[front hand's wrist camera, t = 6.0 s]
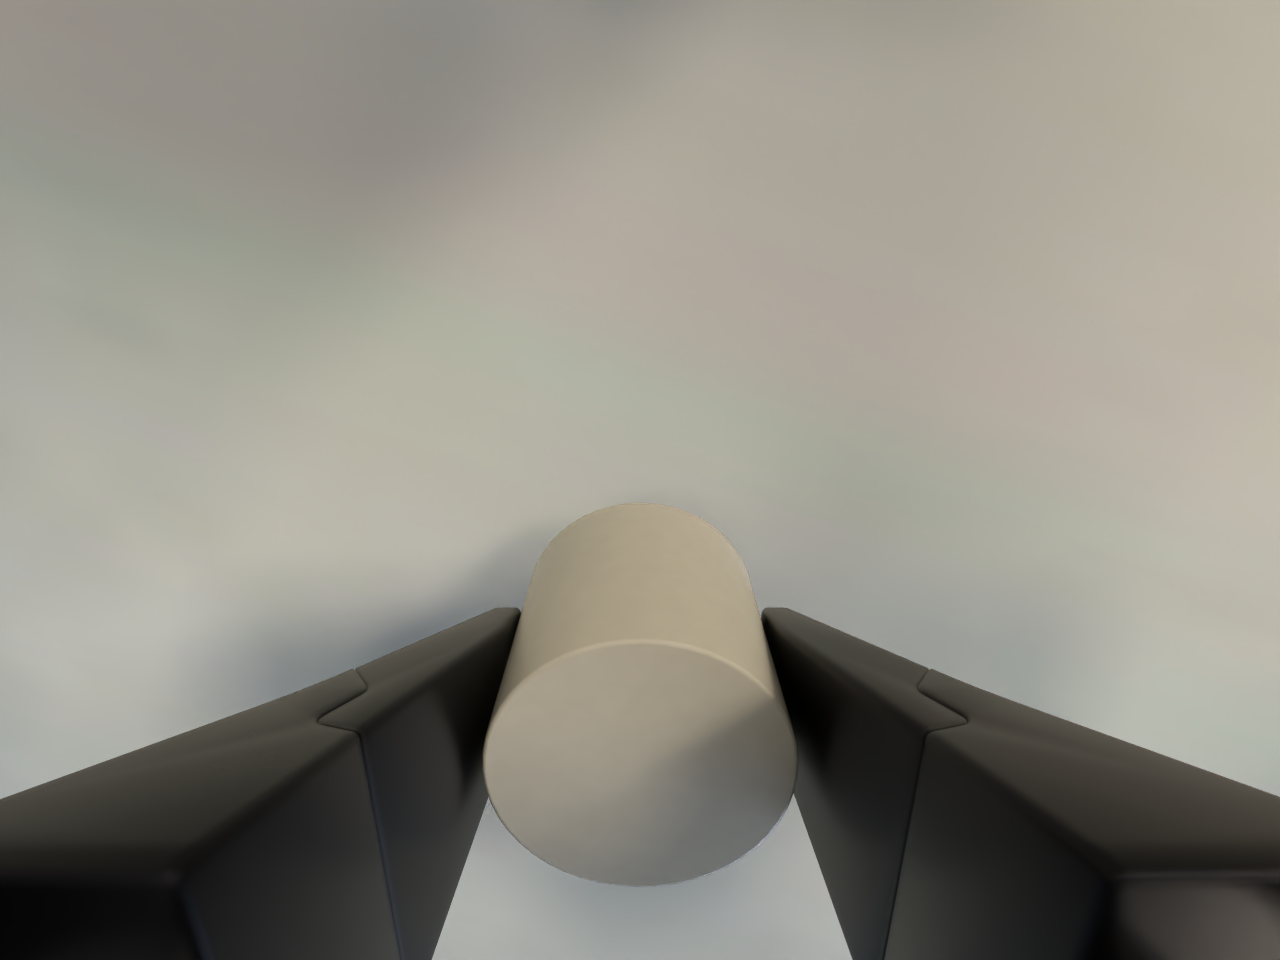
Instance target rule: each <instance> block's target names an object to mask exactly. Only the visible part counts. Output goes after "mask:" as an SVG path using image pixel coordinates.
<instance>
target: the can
mask: <svg viewBox="0 0 1280 960" xmlns="http://www.w3.org/2000/svg"><path fill="white" fill-rule="evenodd" d="M798 762H799V757H798V748H797V741H796V737H795V734H794V731H793V727H792V724H791V720H790V717H789V713H788V710H787V707H786V703H785V700H784V696H783V693H782V690H781V686H780V683H779V679H778V676H777V673H776V669H775V666H774V662H773V659H772V656H771V652H770V649H769V645H768V642H767V639H766V635H765V632H764V628H763V625H762V621H761V618H760V615H759V611H758V608H757V604H756V601H755V598H754V594H753V591H752V587H751V584H750V581H749V577H748V574H747V570H746V568H745V566H744V564H743V562H742V559H741V557H740V556H739V554H738V553H737V551H736V550H735V548H734V547H733V545H732V544H731V543H730V542H729V541H728V540H727V539H726V537H725V536H724V535H722V534H721V533H720V532H719V531H718V530H717V529H716V528H714V527H713V526H712V525H710V524H709V523H707V522H706V521H704V520H702V519H701V518H699V517H697V516H695V515H693V514H691V513H688V512H686V511H683V510H680V509H677V508H674V507H669V506H665V505H660V504H650V503H629V504H622V505H616V506H611V507H607V508H604V509H600V510H597V511H595V512H593V513H590V514H588V515H586V516H583V517H582V518H580V519H578V520H577V521H575V522H573V523H572V524H570V525H569V526H568V527H566V528H565V529H564V530H563V531H561V532H560V533H559V534H558V535H557V536H556V537H555V538H554V539H553V540H552V541H551V542H550V544H549V545H548V546H547V548H546V549H545V550H544V552H543V553H542V555H541V557H540V559H539V561H538V562H537V564H536V567H535V570H534V572H533V575H532V578H531V582H530V585H529V588H528V592H527V595H526V599H525V602H524V606H523V609H522V612H521V616H520V619H519V623H518V626H517V630H516V633H515V636H514V640H513V643H512V647H511V650H510V654H509V657H508V660H507V664H506V667H505V671H504V674H503V678H502V681H501V685H500V688H499V691H498V695H497V698H496V702H495V705H494V709H493V712H492V715H491V719H490V722H489V726H488V729H487V733H486V736H485V742H484V747H483V761H482V769H483V775H484V782H485V786H486V789H487V793H488V796H489V799H490V802H491V804H492V806H493V808H494V810H495V812H496V814H497V815H498V817H499V819H500V820H501V821H502V823H503V824H504V826H505V827H506V828H507V830H508V831H509V832H510V833H511V834H512V835H513V836H514V837H515V838H516V840H517V841H518V842H519V843H520V844H522V845H523V846H524V847H525V848H527V849H528V850H529V851H530V852H531V853H533V854H534V855H536V856H537V857H539V858H540V859H542V860H543V861H545V862H546V863H548V864H550V865H552V866H554V867H556V868H558V869H560V870H562V871H564V872H567V873H570V874H572V875H575V876H578V877H580V878H584V879H588V880H591V881H595V882H599V883H605V884H611V885H618V886H632V887H646V886H662V885H670V884H676V883H681V882H685V881H690V880H694V879H697V878H700V877H703V876H706V875H709V874H712V873H714V872H716V871H718V870H720V869H723V868H725V867H727V866H729V865H731V864H732V863H734V862H736V861H737V860H739V859H741V858H742V857H744V856H745V855H746V854H748V853H749V852H750V851H752V850H753V849H754V848H756V847H757V846H758V845H759V844H760V843H761V842H762V841H763V840H764V839H765V838H766V837H767V836H768V835H769V834H770V833H771V832H772V830H773V829H774V828H775V827H776V825H777V824H778V823H779V822H780V820H781V818H782V816H783V815H784V813H785V811H786V810H787V808H788V806H789V803H790V800H791V798H792V795H793V793H794V789H795V785H796V780H797V776H798Z"/></svg>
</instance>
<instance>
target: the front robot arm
mask: <svg viewBox="0 0 1280 960" xmlns="http://www.w3.org/2000/svg"><path fill="white" fill-rule="evenodd" d="M520 616H521V611H520V610H519V609H518V608H495V609H492V610H490V611H488V612H485V613H483V614H481V615H478V616H476V617H474V618H471V619H469V620H467V621H465V622H462V623H460V624H458V625H455V626H453V627H451V628H448V629H446V630H444V631H441V632H439V633H437V634H434V635H432V636H430V637H427V638H425V639H423V640H420V641H418V642H416V643H413V644H411V645H409V646H406V647H404V648H402V649H400V650H397V651H395V652H393V653H390V654H388V655H386V656H383V657H381V658H379V659H376V660H374V661H372V662H369V663H367V664H365V665H362V666H360V667H358V668H356V669H355V670H354V669H351V670H349V671H346V672H344V673H342V674H339V675H337V676H335V677H332V678H330V679H327V680H325V681H322V682H320V683H317V684H315V685H313V686H310V687H308V688H305V689H303V690H300V691H297V692H295V693H292V694H289V695H287V696H284V697H281V698H279V699H276V700H273V701H271V702H268V703H265V704H262V705H260V706H257V707H254V708H251V709H249V710H246V711H243V712H240V713H237V714H235V715H232V716H229V717H226V718H224V719H221V720H218V721H215V722H213V723H210V724H207V725H204V726H202V727H199V728H196V729H193V730H191V731H188V732H185V733H182V734H179V735H177V736H174V737H171V738H168V739H166V740H163V741H160V742H157V743H155V744H152V745H149V746H146V747H144V748H141V749H138V750H135V751H132V752H130V753H127V754H124V755H121V756H119V757H116V758H113V759H110V760H108V761H105V762H102V763H99V764H97V765H94V766H91V767H88V768H85V769H83V770H80V771H77V772H74V773H72V774H69V775H66V776H63V777H61V778H58V779H55V780H52V781H50V782H47V783H44V784H41V785H38V786H36V787H33V788H30V789H27V790H25V791H22V792H19V793H16V794H14V795H11V796H8V797H5V798H3V799H0V960H431V959H432V957H433V954H434V951H435V948H436V945H437V942H438V939H439V937H440V934H441V931H442V928H443V925H444V922H445V919H446V917H447V914H448V911H449V908H450V905H451V902H452V899H453V897H454V894H455V891H456V888H457V885H458V882H459V879H460V876H461V874H462V871H463V868H464V865H465V862H466V859H467V856H468V854H469V851H470V848H471V845H472V842H473V839H474V836H475V834H476V831H477V828H478V825H479V822H480V819H481V816H482V813H483V811H484V808H485V805H486V802H487V799H488V793H487V789H486V786H485V782H484V775H483V769H482V761H483V747H484V742H485V736H486V733H487V729H488V726H489V722H490V719H491V715H492V712H493V709H494V705H495V702H496V698H497V695H498V691H499V688H500V685H501V681H502V678H503V674H504V671H505V667H506V664H507V660H508V657H509V654H510V650H511V647H512V643H513V640H514V636H515V633H516V630H517V626H518V623H519V619H520ZM761 621H762V625H763V628H764V632H765V635H766V639H767V642H768V645H769V649H770V652H771V656H772V659H773V662H774V666H775V669H776V673H777V676H778V679H779V683H780V686H781V690H782V693H783V696H784V700H785V703H786V707H787V710H788V713H789V717H790V720H791V724H792V727H793V731H794V734H795V737H796V741H797V748H798V757H799V762H798V776H797V780H796V785H795V789H794V795H795V798H796V801H797V804H798V807H799V809H800V812H801V815H802V818H803V821H804V824H805V826H806V829H807V832H808V835H809V838H810V840H811V843H812V846H813V849H814V852H815V855H816V857H817V860H818V863H819V866H820V869H821V872H822V874H823V877H824V880H825V883H826V886H827V889H828V891H829V894H830V897H831V900H832V903H833V905H834V908H835V911H836V914H837V917H838V920H839V922H840V925H841V928H842V931H843V934H844V937H845V939H846V942H847V945H848V948H849V951H850V954H851V956H852V959H853V960H1280V797H1279V796H1276V795H1273V794H1270V793H1267V792H1265V791H1262V790H1259V789H1256V788H1253V787H1251V786H1248V785H1245V784H1242V783H1240V782H1237V781H1234V780H1231V779H1228V778H1226V777H1223V776H1220V775H1217V774H1215V773H1212V772H1209V771H1206V770H1203V769H1201V768H1198V767H1195V766H1192V765H1189V764H1187V763H1184V762H1181V761H1178V760H1176V759H1173V758H1170V757H1167V756H1164V755H1162V754H1159V753H1156V752H1153V751H1150V750H1148V749H1145V748H1142V747H1139V746H1137V745H1134V744H1131V743H1128V742H1125V741H1123V740H1120V739H1117V738H1114V737H1112V736H1109V735H1106V734H1103V733H1100V732H1098V731H1095V730H1092V729H1089V728H1086V727H1084V726H1081V725H1078V724H1075V723H1073V722H1070V721H1067V720H1064V719H1061V718H1059V717H1056V716H1053V715H1050V714H1047V713H1045V712H1042V711H1039V710H1036V709H1034V708H1031V707H1028V706H1025V705H1022V704H1020V703H1017V702H1014V701H1011V700H1009V699H1006V698H1003V697H1001V696H998V695H995V694H993V693H990V692H987V691H985V690H982V689H979V688H977V687H974V686H972V685H969V684H967V683H964V682H962V681H960V680H957V679H955V678H952V677H950V676H947V675H945V674H943V673H940V672H938V671H936V670H933V669H930V670H929V669H928V668H926V667H924V666H922V665H919V664H917V663H915V662H912V661H910V660H908V659H905V658H903V657H901V656H898V655H896V654H894V653H891V652H889V651H887V650H884V649H882V648H880V647H877V646H875V645H872V644H870V643H868V642H865V641H863V640H861V639H858V638H856V637H854V636H851V635H849V634H847V633H844V632H842V631H840V630H837V629H835V628H833V627H830V626H828V625H826V624H823V623H821V622H819V621H816V620H814V619H812V618H809V617H807V616H805V615H802V614H800V613H798V612H795V611H793V610H791V609H788V608H765V609H764V610H763V611H762V615H761Z"/></svg>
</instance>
